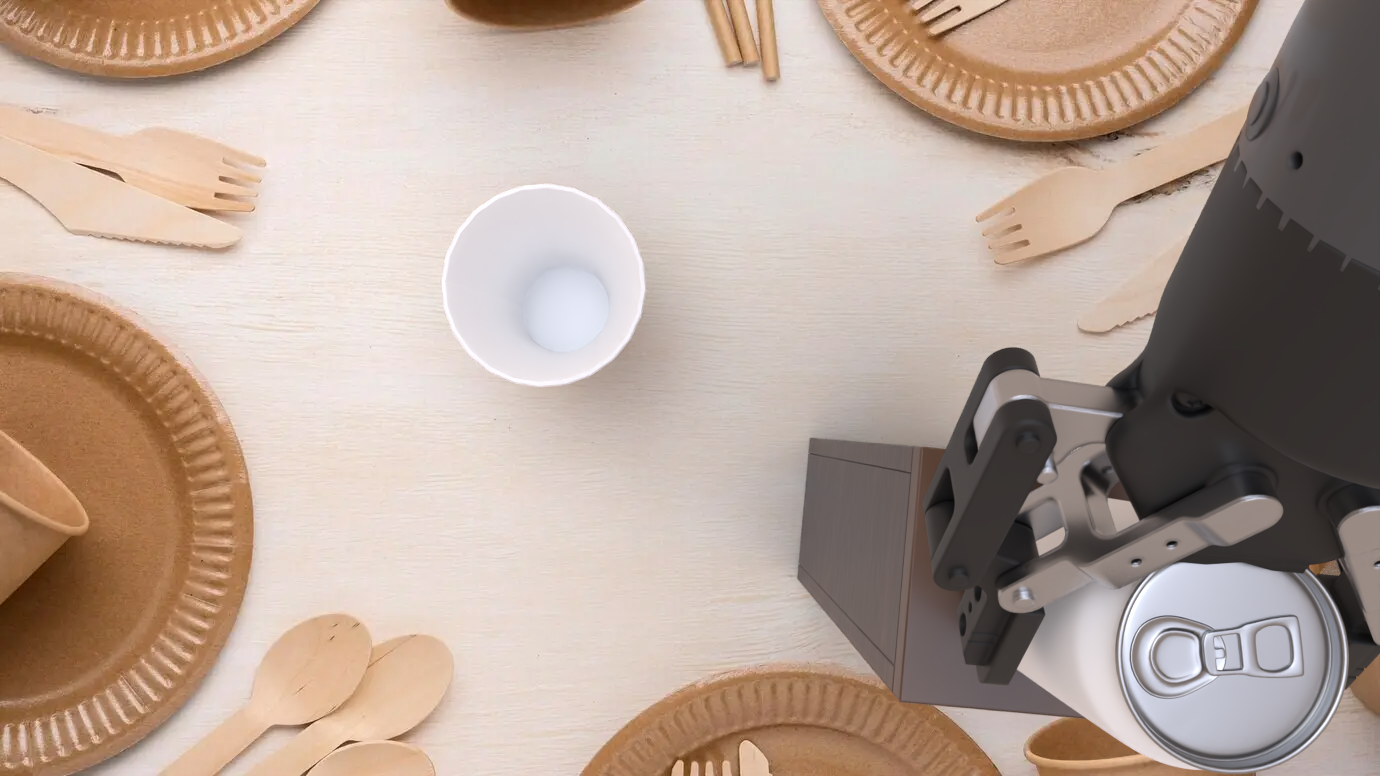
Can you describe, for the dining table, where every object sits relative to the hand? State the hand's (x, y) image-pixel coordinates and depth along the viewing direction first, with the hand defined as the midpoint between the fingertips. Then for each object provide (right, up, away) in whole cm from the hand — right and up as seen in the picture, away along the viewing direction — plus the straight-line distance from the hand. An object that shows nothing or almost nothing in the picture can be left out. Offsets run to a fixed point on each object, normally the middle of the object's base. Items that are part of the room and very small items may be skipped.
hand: (1135, 671), depth 30 cm
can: (0, +1, +7) cm, 7 cm away
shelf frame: (-1, 0, +37) cm, 37 cm away
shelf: (0, +1, +8) cm, 8 cm away
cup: (-20, +13, +37) cm, 44 cm away
